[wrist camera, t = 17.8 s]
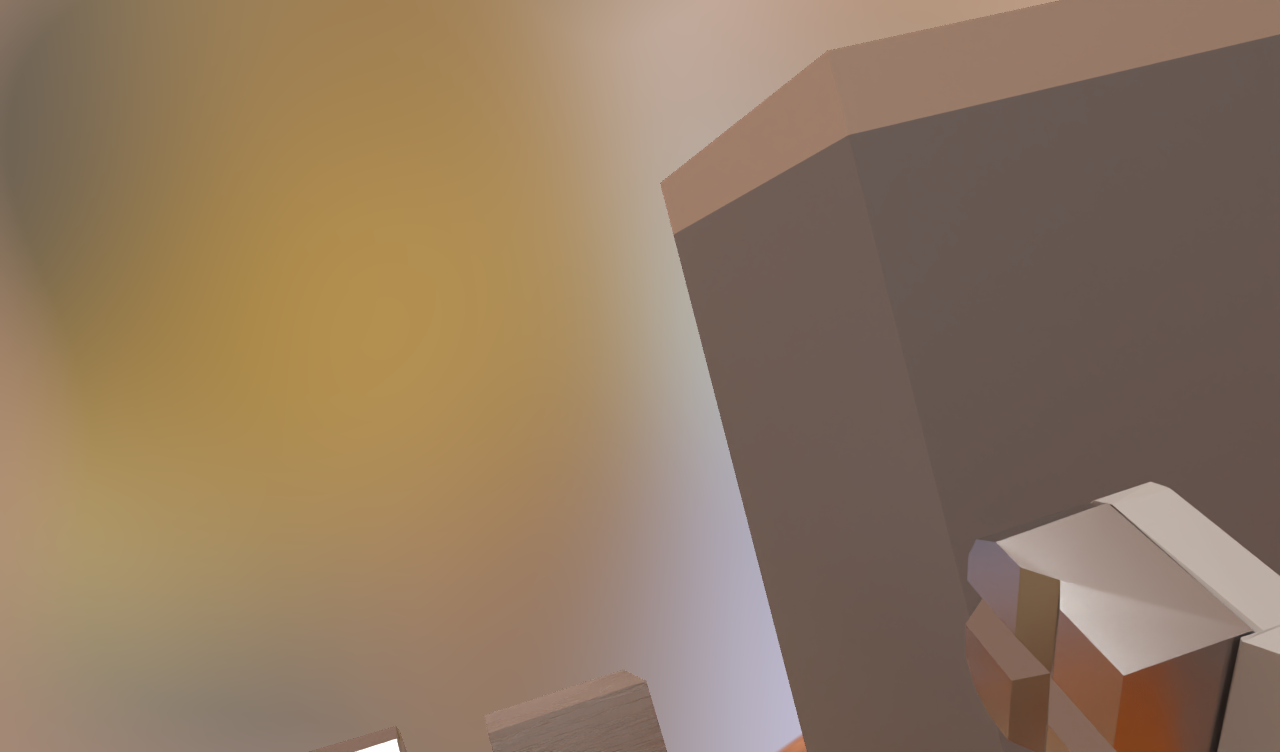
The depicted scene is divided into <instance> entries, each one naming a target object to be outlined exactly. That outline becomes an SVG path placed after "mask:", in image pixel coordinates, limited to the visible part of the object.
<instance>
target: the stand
mask: <svg viewBox="0 0 1280 752" xmlns="http://www.w3.org/2000/svg"><path fill="white" fill-rule="evenodd" d="M660 184H661V188H662V192H663V195H664V199H665V203H666V207H667V210H668V215H669V218H670V222H671V226H672V230H673V234H674V238H675V242H676V246H677V249H678V253H679V257H680V261H681V265H682V269H683V273H684V277H685V280H686V284H687V288H688V292H689V296H690V300H691V304H692V308H693V311H694V316H695V319H696V323H697V327H698V331H699V334H700V339H701V342H702V347H703V350H704V354H705V358H706V362H707V366H708V370H709V373H710V378H711V381H712V385H713V389H714V393H715V397H716V400H717V405H718V409H719V412H720V416H721V420H722V424H723V428H724V432H725V436H726V439H727V443H728V447H729V450H730V455H731V459H732V463H733V466H734V470H735V474H736V478H737V482H738V486H739V490H740V493H741V497H742V501H743V505H744V509H745V513H746V517H747V520H748V525H749V528H750V532H751V536H752V540H753V544H754V548H755V552H756V556H757V560H758V563H759V567H760V571H761V575H762V579H763V583H764V586H765V591H766V594H767V598H768V602H769V606H770V609H771V614H772V618H773V622H774V625H775V629H776V633H777V637H778V641H779V644H780V648H781V653H782V656H783V660H784V664H785V668H786V672H787V676H788V680H789V684H790V687H791V691H792V695H793V699H794V703H795V707H796V710H797V715H798V718H799V722H800V726H801V730H802V734H803V738H804V742H805V746H806V749H807V752H1034V751H1031V750H1029V749H1027V748H1025V747H1022V746H1020V745H1018V744H1015V743H1013V742H1011V741H1009V740H1007V738H1006V737H1005V736H1004V734H1003V733H1002V732H1001V730H1000V729H999V728H998V726H997V725H996V724H995V722H994V721H993V720H992V718H991V717H990V716H989V714H988V712H987V710H986V708H985V706H984V705H983V703H982V701H981V699H980V697H979V695H978V693H977V692H976V690H975V686H974V683H973V680H972V676H971V673H970V669H969V666H968V663H967V659H966V640H965V624H966V622H967V621H968V619H969V618H970V616H971V615H972V613H973V612H974V610H975V609H976V607H977V606H978V604H979V603H980V601H981V600H982V597H981V596H980V595H979V594H978V593H977V591H976V590H975V589H974V588H973V587H972V586H971V584H970V583H969V582H968V581H967V574H968V556H969V553H970V551H971V549H972V547H973V545H974V543H975V541H976V539H979V538H982V537H985V536H988V535H991V534H994V533H997V532H1000V531H1003V530H1006V529H1009V528H1012V527H1015V526H1018V525H1021V524H1024V523H1027V522H1030V521H1033V520H1036V519H1039V518H1043V517H1046V516H1049V515H1052V514H1055V513H1058V512H1061V511H1064V510H1067V509H1070V508H1073V507H1076V506H1079V505H1082V504H1090V503H1091V502H1092V501H1094V500H1097V499H1100V498H1103V497H1106V496H1109V495H1112V494H1115V493H1118V492H1121V491H1124V490H1127V489H1130V488H1133V487H1136V486H1139V485H1142V484H1145V483H1148V482H1153V483H1157V484H1160V485H1163V486H1166V487H1168V488H1170V489H1172V490H1173V491H1174V492H1175V493H1177V494H1178V495H1179V496H1180V497H1182V498H1183V499H1184V500H1185V501H1187V502H1188V503H1189V504H1190V505H1192V506H1193V507H1194V508H1195V509H1197V510H1198V511H1199V512H1200V513H1202V514H1203V515H1204V516H1205V517H1207V518H1208V519H1209V520H1210V521H1212V522H1213V523H1214V524H1215V525H1217V526H1218V527H1219V528H1220V529H1222V530H1223V531H1224V532H1225V533H1227V534H1228V535H1229V536H1230V537H1232V538H1233V539H1234V540H1235V541H1237V542H1238V543H1239V544H1240V545H1242V546H1243V547H1244V548H1245V549H1247V550H1248V551H1249V552H1250V553H1252V554H1253V555H1254V556H1255V557H1257V558H1258V559H1259V560H1260V561H1262V562H1263V563H1264V564H1265V565H1267V566H1268V567H1269V568H1270V569H1272V570H1273V571H1274V572H1275V573H1277V574H1278V575H1279V576H1280V0H1059V1H1055V2H1050V3H1046V4H1041V5H1036V6H1032V7H1027V8H1023V9H1018V10H1014V11H1009V12H1004V13H999V14H995V15H990V16H986V17H982V18H977V19H972V20H968V21H963V22H958V23H953V24H949V25H945V26H940V27H935V28H930V29H926V30H921V31H916V32H912V33H907V34H903V35H898V36H893V37H889V38H884V39H879V40H875V41H871V42H866V43H861V44H856V45H852V46H847V47H843V48H838V49H833V50H829V51H826V52H825V53H824V54H823V55H821V56H820V57H819V58H818V59H816V60H815V61H814V62H813V63H811V64H810V65H809V66H807V67H806V68H805V69H804V70H802V71H801V72H800V73H799V74H797V75H796V76H795V77H794V78H792V79H791V80H790V81H788V83H786V84H785V85H783V86H782V87H781V88H780V89H778V90H777V91H776V92H775V93H773V94H772V95H771V96H770V97H768V98H767V99H766V100H765V101H763V102H762V103H761V104H759V105H758V106H757V107H756V108H754V109H753V110H752V111H751V112H749V113H748V114H747V115H746V116H744V117H743V118H742V119H740V120H739V121H738V122H737V123H735V124H734V125H733V126H732V127H730V128H729V129H728V130H727V131H725V132H724V133H723V134H722V135H720V136H719V137H718V138H716V139H715V140H714V141H713V142H711V143H710V144H709V145H708V146H706V147H705V148H704V149H703V150H702V151H700V152H699V153H697V154H696V155H695V156H694V157H692V158H691V159H690V160H689V161H687V162H686V163H685V164H684V165H682V166H681V167H680V168H679V169H677V170H676V171H675V172H673V173H672V174H671V175H670V176H668V177H667V178H666V179H665V180H663V181H662V182H661V183H660Z"/></svg>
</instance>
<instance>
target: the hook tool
mask: <svg viewBox="0 0 1280 752" xmlns="http://www.w3.org/2000/svg"><path fill="white" fill-rule="evenodd" d="M484 718H485V722H486V727H487V732H488V735H489V739H490V743H491V746H492V750H493V752H667V750H666V747H665V743H664V740H663V736H662V733H661V730H660V726H659V723H658V720H657V716H656V713H655V709H654V706H653V703H652V699H651V696H650V693H649V689H648V686H647V682H646V681H645V680H643V679H641V678H639V677H637V676H635V675H633V674H631V673H629V672H627V671H625V670H621V671H618V672H615V673H612V674H609V675H605V676H603V677H599V678H596V679H594V680H590V681H587V682H584V683H582V684H578V685H575V686H572V687H569V688H566V689H563V690H560V691H557V692H554V693H551V694H548V695H545V696H542V697H539V698H536V699H532V700H530V701H526V702H523V703H521V704H517V705H514V706H511V707H508V708H505V709H502V710H499V711H496V712H493V713H490V714H487V715H484Z"/></svg>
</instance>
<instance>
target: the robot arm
mask: <svg viewBox="0 0 1280 752" xmlns="http://www.w3.org/2000/svg"><path fill="white" fill-rule="evenodd" d="M967 581H968V582H969V583H970V584H971V586H972V587H973V588H974V589H975V590H976V591H977V593H978V594H979V595H980V596H981V597H982V600H981V601H980V603H979V604H978V606H977V607H976V609H975V610H974V612H973V613H972V615H971V616H970V618H969V619H968V621H967V622H966V624H965V640H966V659H967V663H968V666H969V669H970V673H971V676H972V680H973V683H974V686H975V690H976V692H977V693H978V695H979V697H980V699H981V701H982V703H983V705H984V706H985V708H986V710H987V712H988V714H989V716H990V717H991V718H992V720H993V721H994V722H995V724H996V725H997V726H998V728H999V729H1000V730H1001V732H1002V733H1003V734H1004V736H1005V737H1006V738H1007V740H1009V741H1011V742H1013V743H1015V744H1018V745H1020V746H1022V747H1025V748H1027V749H1029V750H1031V751H1034V752H1280V576H1279V575H1278V574H1277V573H1275V572H1274V571H1273V570H1272V569H1270V568H1269V567H1268V566H1267V565H1265V564H1264V563H1263V562H1262V561H1260V560H1259V559H1258V558H1257V557H1255V556H1254V555H1253V554H1252V553H1250V552H1249V551H1248V550H1247V549H1245V548H1244V547H1243V546H1242V545H1240V544H1239V543H1238V542H1237V541H1235V540H1234V539H1233V538H1232V537H1230V536H1229V535H1228V534H1227V533H1225V532H1224V531H1223V530H1222V529H1220V528H1219V527H1218V526H1217V525H1215V524H1214V523H1213V522H1212V521H1210V520H1209V519H1208V518H1207V517H1205V516H1204V515H1203V514H1202V513H1200V512H1199V511H1198V510H1197V509H1195V508H1194V507H1193V506H1192V505H1190V504H1189V503H1188V502H1187V501H1185V500H1184V499H1183V498H1182V497H1180V496H1179V495H1178V494H1177V493H1175V492H1174V491H1173V490H1172V489H1170V488H1168V487H1166V486H1163V485H1160V484H1157V483H1153V482H1148V483H1145V484H1142V485H1139V486H1136V487H1133V488H1130V489H1127V490H1124V491H1121V492H1118V493H1115V494H1112V495H1109V496H1106V497H1103V498H1100V499H1097V500H1094V501H1092V502H1091V503H1090V504H1082V505H1079V506H1076V507H1073V508H1070V509H1067V510H1064V511H1061V512H1058V513H1055V514H1052V515H1049V516H1046V517H1043V518H1039V519H1036V520H1033V521H1030V522H1027V523H1024V524H1021V525H1018V526H1015V527H1012V528H1009V529H1006V530H1003V531H1000V532H997V533H994V534H991V535H988V536H985V537H982V538H979V539H976V541H975V543H974V545H973V547H972V549H971V551H970V553H969V556H968V574H967ZM310 752H407V750H406V747H405V745H404V742H403V739H402V736H401V733H400V731H399V729H398V728H397V727H396V726H395V727H392V728H388V729H385V730H381V731H378V732H375V733H371V734H368V735H364V736H361V737H357V738H354V739H351V740H347V741H344V742H340V743H337V744H334V745H330V746H327V747H323V748H320V749H317V750H313V751H310Z"/></svg>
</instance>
